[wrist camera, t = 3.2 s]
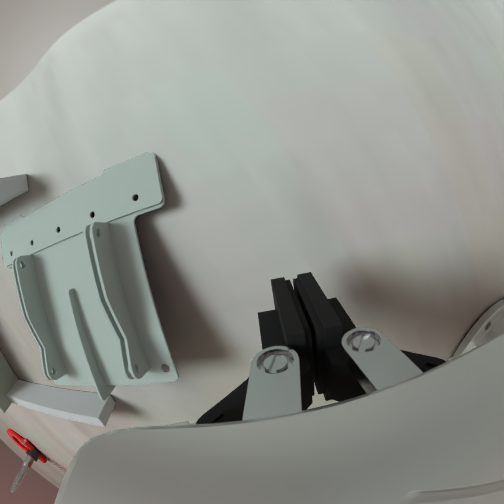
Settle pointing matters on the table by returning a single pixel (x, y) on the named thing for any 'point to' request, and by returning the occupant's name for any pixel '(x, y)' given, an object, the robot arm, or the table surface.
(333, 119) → the table surface
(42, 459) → the tow hook
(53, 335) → the metal bracket
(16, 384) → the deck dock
